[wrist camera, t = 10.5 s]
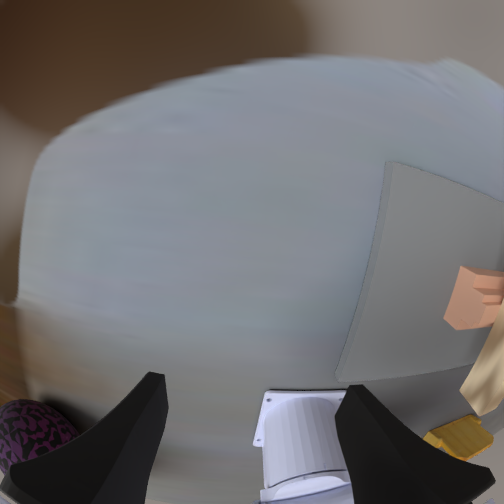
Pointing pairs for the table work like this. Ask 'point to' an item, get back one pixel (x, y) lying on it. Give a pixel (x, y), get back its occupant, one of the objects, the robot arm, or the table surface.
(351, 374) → the board
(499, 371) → the pine batten
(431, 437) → the yellow toy chair
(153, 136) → the table surface
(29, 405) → the toy ball
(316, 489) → the robot arm
